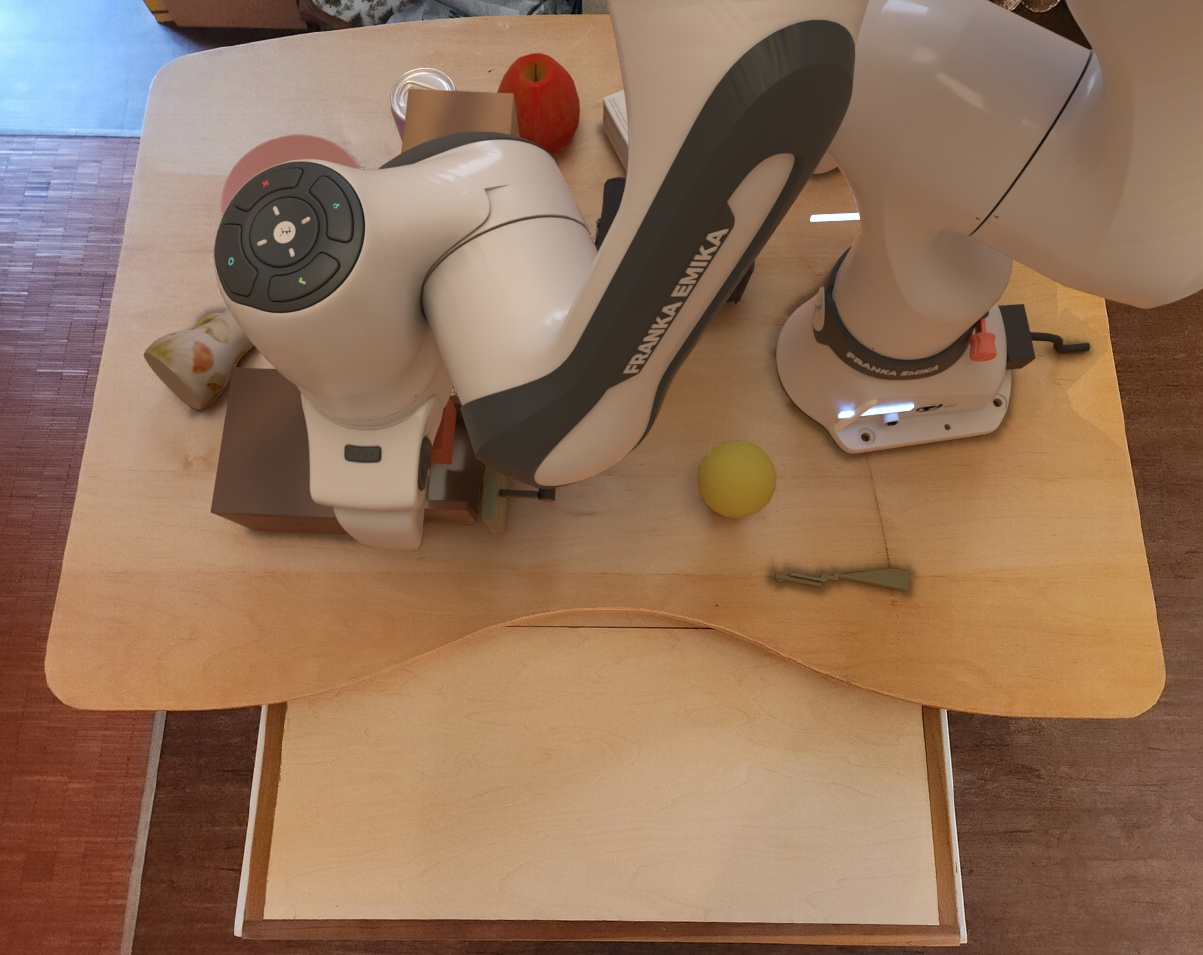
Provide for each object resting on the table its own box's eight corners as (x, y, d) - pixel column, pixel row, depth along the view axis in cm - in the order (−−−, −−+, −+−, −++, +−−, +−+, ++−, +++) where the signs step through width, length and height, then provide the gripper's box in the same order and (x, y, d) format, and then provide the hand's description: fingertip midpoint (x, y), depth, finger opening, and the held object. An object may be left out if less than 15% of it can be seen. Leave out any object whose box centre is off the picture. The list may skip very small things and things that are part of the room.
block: (456, 410, 66) (447, 391, 61) (451, 464, 65) (441, 449, 60) (400, 407, 66) (386, 388, 61) (394, 462, 65) (380, 446, 60)
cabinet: (425, 407, 79) (404, 374, 70) (413, 538, 76) (389, 520, 67) (273, 400, 79) (232, 366, 70) (254, 530, 76) (210, 512, 67)
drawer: (563, 416, 78) (560, 391, 71) (556, 536, 75) (553, 522, 68) (370, 408, 78) (347, 382, 71) (357, 527, 75) (332, 512, 68)
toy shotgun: (906, 569, 76) (910, 568, 75) (908, 591, 75) (911, 590, 75) (773, 564, 76) (775, 563, 75) (773, 586, 75) (775, 585, 74)
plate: (400, 206, 84) (396, 195, 82) (294, 300, 81) (287, 291, 79) (306, 121, 86) (299, 108, 84) (200, 210, 83) (190, 199, 81)
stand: (540, 285, 82) (513, 92, 54) (535, 351, 80) (506, 187, 53) (469, 282, 82) (408, 88, 54) (464, 348, 80) (397, 182, 53)
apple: (491, 159, 85) (477, 87, 74) (516, 93, 87) (506, 14, 76) (567, 180, 84) (563, 111, 74) (591, 113, 86) (590, 36, 76)
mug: (289, 339, 80) (232, 353, 71) (234, 409, 83) (172, 431, 74) (230, 285, 80) (165, 292, 70) (177, 357, 82) (107, 373, 73)
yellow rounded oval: (745, 451, 78) (767, 420, 68) (770, 518, 77) (796, 495, 67) (679, 472, 78) (691, 444, 68) (702, 540, 76) (718, 520, 66)
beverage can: (474, 226, 83) (449, 132, 68) (417, 215, 83) (379, 119, 69) (488, 175, 84) (466, 71, 70) (431, 164, 85) (397, 59, 70)
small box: (600, 128, 86) (601, 95, 81) (668, 101, 87) (672, 66, 82) (632, 189, 84) (635, 159, 79) (701, 161, 85) (708, 129, 80)
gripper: (346, 212, 53) (396, 305, 66) (305, 526, 48) (368, 558, 61) (445, 216, 53) (474, 309, 66) (413, 531, 48) (452, 562, 62)
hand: (423, 431), depth 64 cm, fingers closed on block, 4 cm apart
